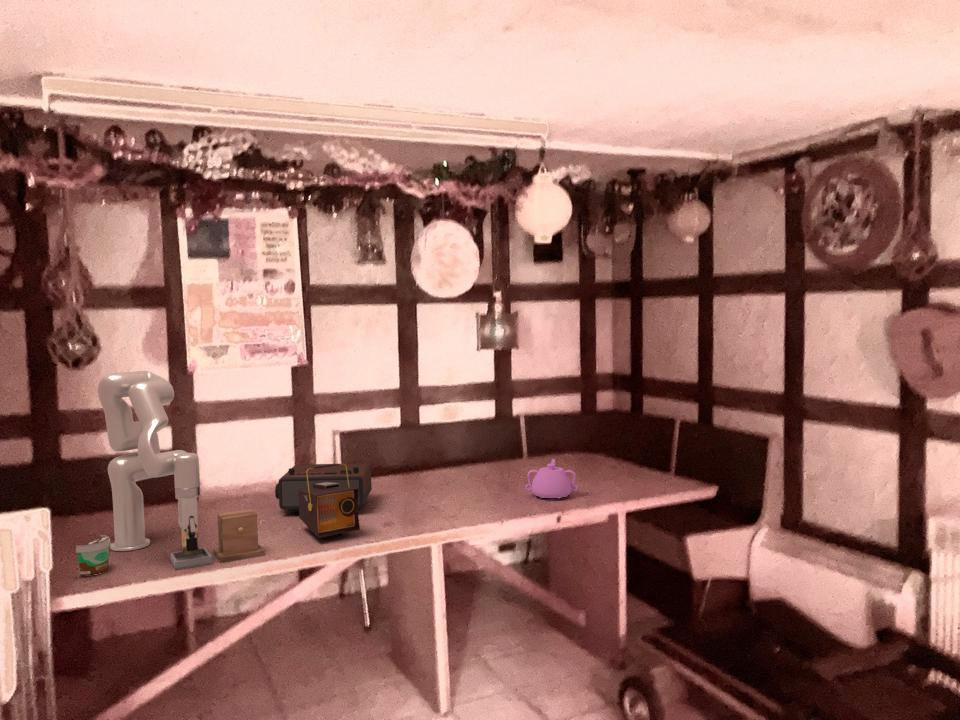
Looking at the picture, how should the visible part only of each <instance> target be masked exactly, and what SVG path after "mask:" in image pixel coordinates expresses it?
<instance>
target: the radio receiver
mask: <svg viewBox="0 0 960 720" xmlns="http://www.w3.org/2000/svg"><path fill="white" fill-rule="evenodd" d="M333 464H334V463H315V464H314V463H313V464H310V463H308V464H306V463H305V464H295V465H293V466H292V467H291V468H288V471H287V472H285V474H284V475H282V476H281V477H280V478H279V479H278V482H277V483H276V485H275V489H274V495H275V499H277V500H278V506H279V508H280V509H281V510H283V511H284V510H287V511H288V512H289V513H294V512H298V513H299V494H298V490H303V489H308V483H307V475H306V472H307V470H308V469H309V470H308V472H307V474H308V482H309V488H313V484H317V483H323V482H331V483H340V487H347V488H348V481H347V473H346V467H345V465H346V466H347V472H348V480H349V487H350V488H359V492H358V509H357V510H358V511H359V510H360V509H361V508H363V506H364V505H365V503H366V500H368V499H367V498H368V496H369V495H370V494H371V491H372V489H373V488H372V466H371V464H370V463H368V462H357V463H356V462H355V463H353V462H351V463H339V464H340V465H336V466H329V467H323V468H316V469H314V467H320V466H327V465H333ZM343 464H345V465H343ZM310 468H313V469H310Z"/></svg>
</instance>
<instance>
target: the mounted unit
mask: <svg viewBox="0 0 960 720" xmlns="http://www.w3.org/2000/svg"><path fill="white" fill-rule="evenodd" d="M216 515H217V531H218V532H217V534H218V535H217V537H218V547H215V548H213V549H212V550H213V551H212V553H213V554H214V556H215V557H216V559H217V560H218V561H219V563H220V564H221V563H222V564H223V563H226V562H227V563H228V562H234V561H239V560H240V561H241V560H246V559H250V558H256V557H262V556H265V555H266V554H265V552H266V551H265V550H264V549H263V548H262V547H261V545H260V544H259V534H258V530H259V529H258V528H259V527H258V514H257V512H255V511H254V510H253V509H252V508H247V509H241V510H233V511H226V512H221V513H220V512H218V513H217V514H216Z"/></svg>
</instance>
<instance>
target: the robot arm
mask: <svg viewBox="0 0 960 720" xmlns="http://www.w3.org/2000/svg"><path fill="white" fill-rule="evenodd" d="M97 396H98V399H99V400H98V401H99V402H100V405H101V407H102V410H103V413H104V417H105V426H106V432H107V438H108V445H109V447H110V448H111V450H112V451H114V452H126V451H133V450H137V452H136V453H129V454H128V453H127V454H124V455H118V456H117V457H114V458H113V459H112V460H110V461H109V463H108V465H107V473H108V478H109V482H110V487H111V494H112V508H113V509H112V510H113V529H114V541H113V542H111V545H110V546H109V550H111V551H114V552H128V551H129V552H130V551H135V550H139V549H140V550H141V549H143V548H146V547H148V546H149V545H151V539H149V538H147V537H146V532H145V531H146V529H145V510H144V508H145V507H144V495H143V492H142V489H141V488H140V487H139V486H138V484H137V483H136V482H140V481H143V480H148V479H153V478H154V479H155V478H162V477H167V476H171V475H172V476H174V477H173V478H174V497H175V499H176V500H177V521H178V522H177V524H178V526H179V528H180V530H181V529H182V530H183V531H184V530H185V529H186V533H187V539H186V548H187V551H194V550H197V536H196V529H197V528H198V529H199V510H198V509H199V508H198V498H199V497H201V481H200V480H201V479H200V462H199V461H200V459H199V455H198V454H197V453H194V452H187V451H186V450H183V449H176V450H171V451H170V450H169V451H164V452H161V448H160V441H159V435H158V432H159V431H161V430H162V429H164V428H165V427H166V426H167V425H169V422H170V421H169V417H168V415H167V413H166V410H165V407H164V406H163V405H168V404H170V403H172V401H173V400H174V398H175V391H174V387H173V385H172V384H171V383H170V381H168V380H167V379H166V378H164V377H162V376H160V375H158V374H156V373H154V372H151V371H147V370H135V371H124V372H123V371H122V372H115V373H110V374H106V375H104V376H102V377H101V379H100V380H99V382H98V384H97ZM124 398H128V399H129V400H130V403H131V405H132V407H131V406H130V405H129V403H128V402H127V401H126V400H125V399H124ZM132 408H133V410H134V412H135V415H136V417H137V419H138V420H137V421H134V416H133V411H132ZM188 527H190V529H188ZM189 531H190V532H189Z"/></svg>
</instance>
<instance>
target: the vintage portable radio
mask: <svg viewBox="0 0 960 720" xmlns="http://www.w3.org/2000/svg"><path fill="white" fill-rule="evenodd" d="M332 464H333V465H327V466H320V467H314V469H316V468H323V467H329V466H336V465H340V464H341V463H332ZM342 464H343V465H345V464H346V463H342ZM345 467H346V473H347V481H348V488H347V487H340V483H331V482H323V483H317V484H313V488H309V482H308V474H307V472H308V470H309V469H308V470H307V472H306V475H307V483H308V489H303V490H298V494H299V512H298V515H299V519H300V520H301V521H302V523H304V524H305V525H306V527H308V529H309V530H310V531H311V532H312V533H313V534H314V535H315V537H316V538H318V539H322V538H324V539H325V538H326V537H330V536H335V535H339V534H345V533H350V532H355V531H360V530H361V526H360V519H359V510H357V509H358V492H359V488H350V487H349V480H348V472H347V466H346V465H345ZM310 469H313V468H310Z"/></svg>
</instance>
